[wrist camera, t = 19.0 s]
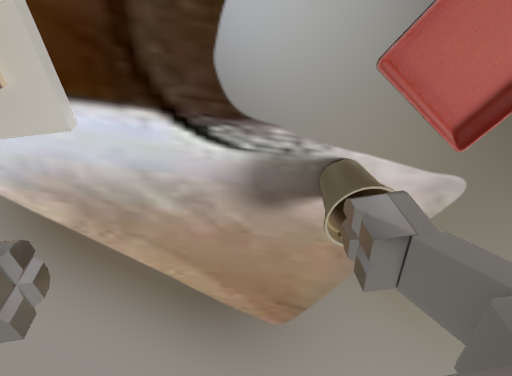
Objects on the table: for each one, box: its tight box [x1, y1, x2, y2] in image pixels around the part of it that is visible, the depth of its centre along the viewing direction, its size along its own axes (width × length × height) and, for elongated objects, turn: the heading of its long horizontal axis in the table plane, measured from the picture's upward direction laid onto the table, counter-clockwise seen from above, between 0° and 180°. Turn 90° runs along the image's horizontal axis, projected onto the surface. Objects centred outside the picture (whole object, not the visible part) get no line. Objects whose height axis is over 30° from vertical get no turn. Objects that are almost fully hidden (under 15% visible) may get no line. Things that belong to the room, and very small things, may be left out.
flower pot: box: [319, 159, 396, 246], centre depth 41 cm, size 9×9×9 cm
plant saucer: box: [377, 0, 512, 152], centre depth 35 cm, size 18×18×3 cm
